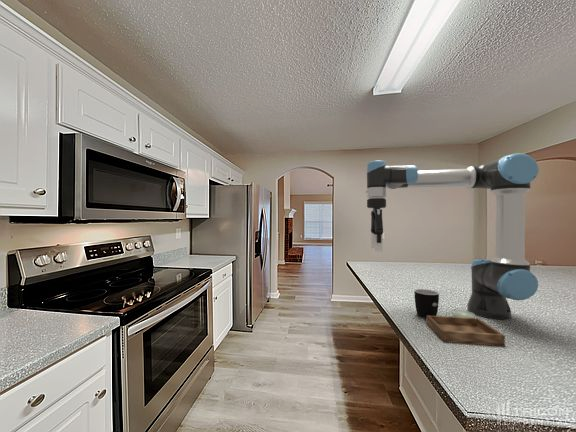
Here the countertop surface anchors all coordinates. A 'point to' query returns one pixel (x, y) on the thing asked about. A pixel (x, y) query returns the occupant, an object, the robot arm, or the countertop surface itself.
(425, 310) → the mug
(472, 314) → the pale green curved piece
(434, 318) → the walnut tray
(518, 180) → the robot arm
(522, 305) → the countertop surface
